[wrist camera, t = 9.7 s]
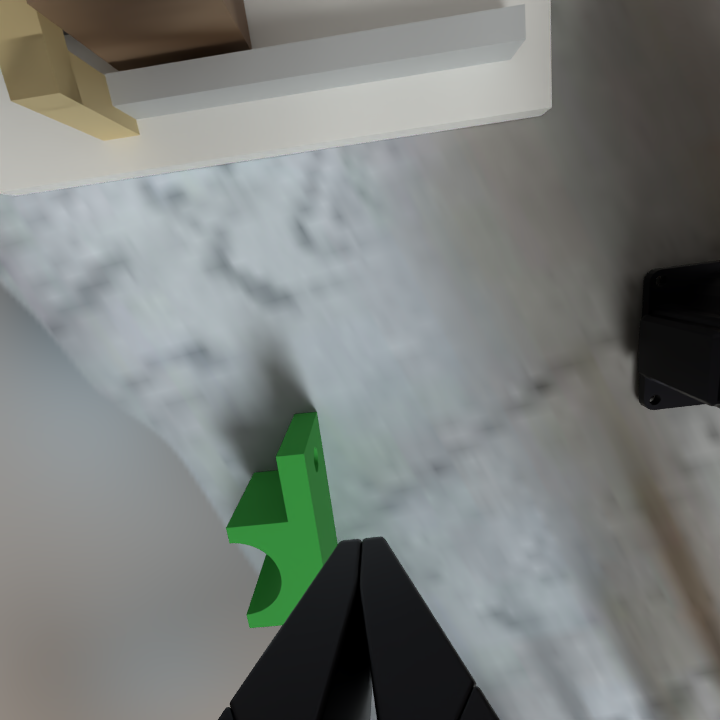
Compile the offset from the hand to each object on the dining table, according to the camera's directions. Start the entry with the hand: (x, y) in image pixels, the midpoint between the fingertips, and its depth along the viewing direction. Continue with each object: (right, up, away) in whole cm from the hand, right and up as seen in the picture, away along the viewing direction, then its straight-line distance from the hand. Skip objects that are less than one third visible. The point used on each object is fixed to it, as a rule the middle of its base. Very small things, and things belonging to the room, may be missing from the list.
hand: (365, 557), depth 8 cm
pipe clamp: (-3, -4, +14) cm, 15 cm away
